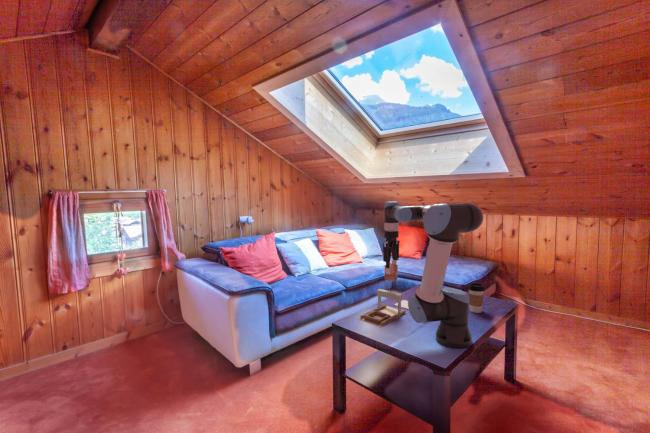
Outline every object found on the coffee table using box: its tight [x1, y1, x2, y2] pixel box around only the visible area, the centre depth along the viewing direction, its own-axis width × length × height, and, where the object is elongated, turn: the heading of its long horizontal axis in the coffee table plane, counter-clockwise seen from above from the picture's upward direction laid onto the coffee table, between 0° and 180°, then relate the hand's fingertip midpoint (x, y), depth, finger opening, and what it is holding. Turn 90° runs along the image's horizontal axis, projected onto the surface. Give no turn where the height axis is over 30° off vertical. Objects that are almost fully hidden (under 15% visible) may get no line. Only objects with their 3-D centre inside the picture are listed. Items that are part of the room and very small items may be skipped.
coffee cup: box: [467, 282, 485, 314], centre depth 180 cm, size 8×8×15 cm
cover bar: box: [376, 288, 403, 313], centre depth 175 cm, size 3×14×10 cm, turn 46°
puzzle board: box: [357, 304, 409, 328], centre depth 172 cm, size 26×14×4 cm, turn 136°
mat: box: [393, 299, 409, 310], centre depth 191 cm, size 11×11×1 cm
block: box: [384, 263, 399, 282], centre depth 176 cm, size 5×5×8 cm
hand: (391, 272), depth 176 cm, fingers closed on block, 5 cm apart
